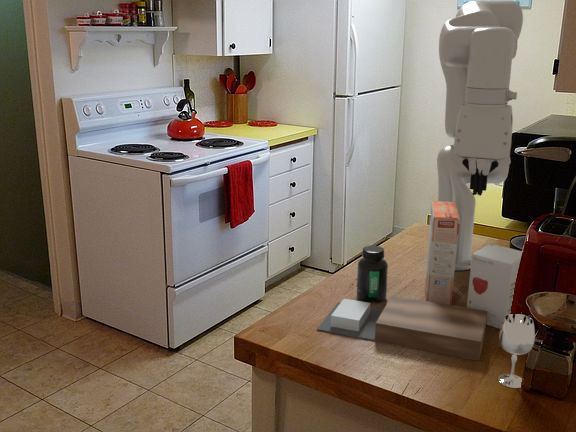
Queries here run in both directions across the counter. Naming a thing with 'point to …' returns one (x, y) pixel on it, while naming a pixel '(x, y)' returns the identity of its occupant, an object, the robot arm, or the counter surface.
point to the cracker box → (441, 252)
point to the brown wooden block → (432, 327)
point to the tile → (350, 315)
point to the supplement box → (493, 281)
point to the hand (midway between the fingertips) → (477, 193)
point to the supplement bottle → (372, 275)
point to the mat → (364, 333)
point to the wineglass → (515, 343)
